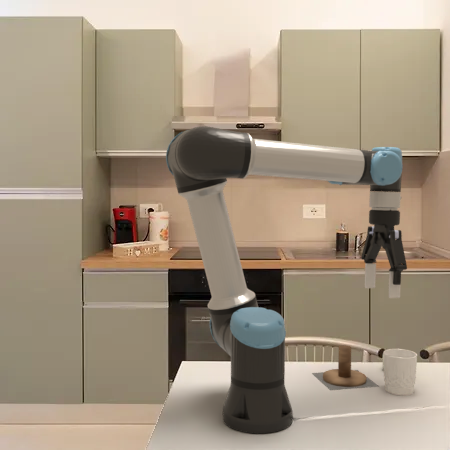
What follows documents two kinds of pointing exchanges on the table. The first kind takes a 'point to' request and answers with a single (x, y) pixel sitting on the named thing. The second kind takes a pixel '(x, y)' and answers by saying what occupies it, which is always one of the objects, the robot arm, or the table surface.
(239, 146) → the robot arm
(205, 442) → the table surface
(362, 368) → the table surface
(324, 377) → the walnut lid
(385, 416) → the table surface
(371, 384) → the mat
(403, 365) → the white cup
